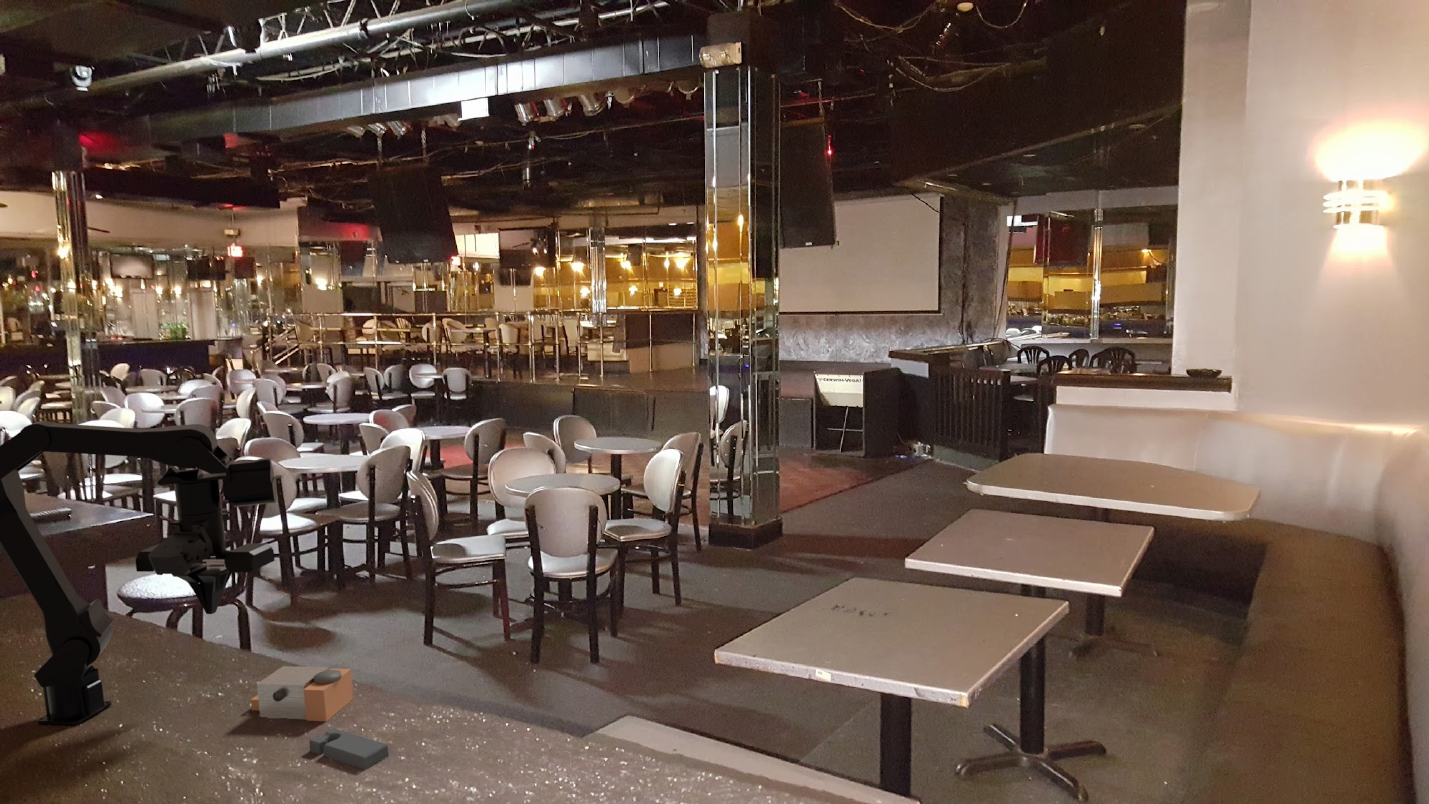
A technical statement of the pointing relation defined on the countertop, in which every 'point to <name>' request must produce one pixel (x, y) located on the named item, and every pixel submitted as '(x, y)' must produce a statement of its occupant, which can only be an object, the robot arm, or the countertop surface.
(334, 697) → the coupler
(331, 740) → the bracket
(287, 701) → the grey cube with knob
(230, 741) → the countertop surface
